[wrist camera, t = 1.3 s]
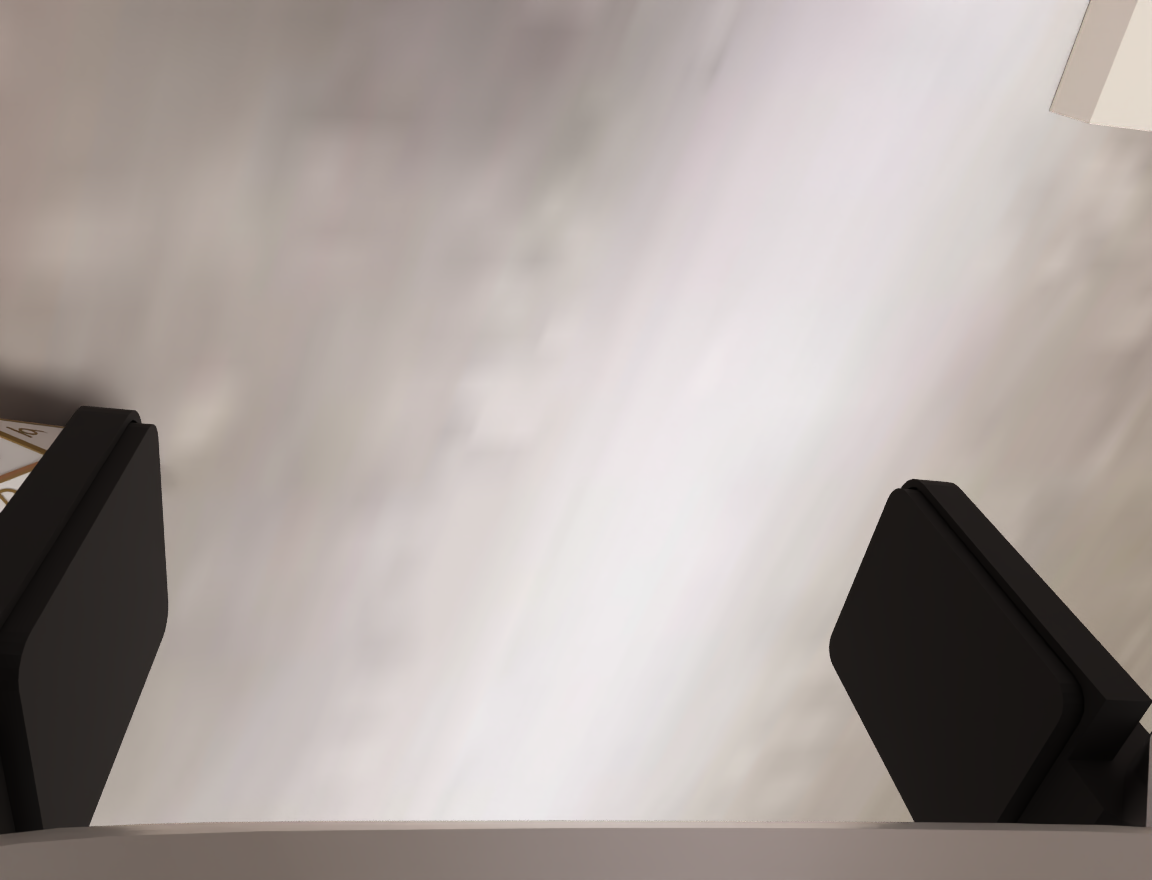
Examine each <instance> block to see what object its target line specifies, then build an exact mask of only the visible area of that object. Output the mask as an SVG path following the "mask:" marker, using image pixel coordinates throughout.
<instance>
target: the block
mask: <svg viewBox="0 0 1152 880" xmlns="http://www.w3.org/2000/svg"><path fill="white" fill-rule="evenodd" d="M1050 111H1051V112H1054V113H1057V114H1060V115H1063V116H1066V117H1070V118H1073V119H1076V120H1079V121H1082V122H1085V123H1089V124H1096V125H1104V126H1112V127H1120V128H1128V129H1136V130H1144V131H1152V0H1091V1H1090V3H1089V6H1088V9H1087V11H1086V14H1085V17H1084V20H1083V22H1082V25H1081V28H1080V30H1079V33H1078V36H1077V38H1076V41H1075V44H1074V46H1073V49H1072V52H1071V54H1070V57H1069V60H1068V63H1067V65H1066V68H1065V71H1064V73H1063V76H1062V79H1061V81H1060V84H1059V87H1058V89H1057V92H1056V95H1055V97H1054V100H1053V103H1052V106H1051V108H1050Z"/></svg>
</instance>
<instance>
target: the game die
mask: <svg viewBox="0 0 1152 880" xmlns="http://www.w3.org/2000/svg"><path fill="white" fill-rule="evenodd" d="M63 428H64V427H62V426H55V425H47V424H40V423H32V422H25V421H17V420H10V419H2V418H0V513H1V511H2V510H3V509H4V507H5V506H6V505H7V503H8V502H9V501H10V499H11V498H12V497H13V495H14V494H15V493H16V491H17V490H18V489H19V487H20V486H21V484H22V483H23V482H24V480H25V479H26V478H27V476H28V475H29V474H30V472H31V471H32V470H33V468H34V467H35V466H36V464H37V463H38V462H39V460H40V459H41V458H42V456H43V455H44V454H45V452H46V451H47V450H48V448H49V447H50V446H51V444H52V443H53V442H54V440H55V439H56V438H57V436H58V435H59V434H60V432H61V431H62V430H63Z"/></svg>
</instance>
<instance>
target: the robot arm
mask: <svg viewBox="0 0 1152 880" xmlns="http://www.w3.org/2000/svg"><path fill="white" fill-rule="evenodd" d="M167 617H168V591H167V575H166V558H165V541H164V524H163V508H162V491H161V474H160V458H159V441H158V431H157V428H156V426H155V425H154V424H142V423H141V419H140V416H139V414H138V412H137V411H136V410H124V409H113V408H102V407H90V406H81V407H80V408H79V409H78V410H77V411H76V412H75V414H74V415H73V416H72V418H71V419H70V420H69V422H68V423H67V424H66V426H65V427H64V428H63V430H62V431H61V432H60V434H59V435H58V436H57V438H56V439H55V440H54V442H53V443H52V444H51V446H50V447H49V448H48V450H47V451H46V452H45V454H44V455H43V456H42V458H41V459H40V460H39V462H38V463H37V464H36V466H35V467H34V468H33V470H32V471H31V472H30V474H29V475H28V476H27V478H26V479H25V480H24V482H23V483H22V484H21V486H20V487H19V489H18V490H17V491H16V493H15V494H14V495H13V497H12V498H11V499H10V501H9V502H8V503H7V505H6V506H5V507H4V509H3V510H2V511H1V513H0V880H1152V732H1151V733H1150V734H1149V733H1148V732H1147V731H1146V729H1145V728H1144V727H1143V726H1142V725H1141V724H1140V723H1139V721H1140V719H1141V718H1142V717H1143V715H1144V714H1145V712H1146V711H1147V709H1148V708H1149V706H1150V705H1151V703H1152V700H1151V699H1150V698H1149V696H1148V695H1147V694H1146V693H1145V692H1144V691H1143V690H1142V689H1141V688H1140V687H1139V685H1138V684H1137V683H1136V682H1135V681H1134V680H1133V679H1132V678H1131V677H1130V675H1129V674H1128V673H1127V672H1126V671H1125V670H1124V669H1123V668H1122V667H1121V666H1120V664H1119V663H1118V662H1117V661H1116V660H1115V659H1114V658H1113V657H1112V656H1111V655H1110V653H1109V652H1108V651H1107V650H1106V649H1105V648H1104V647H1103V646H1102V645H1101V643H1100V642H1099V641H1098V640H1097V639H1096V638H1095V637H1094V636H1093V635H1092V634H1091V632H1090V631H1089V630H1088V629H1087V628H1086V627H1085V626H1084V625H1083V624H1082V623H1081V621H1080V620H1079V619H1078V618H1077V617H1076V616H1075V615H1074V614H1073V613H1072V611H1071V610H1070V609H1069V608H1068V607H1067V606H1066V605H1065V604H1064V603H1063V602H1062V600H1061V599H1060V598H1059V597H1058V596H1057V595H1056V594H1055V593H1054V592H1053V591H1052V589H1051V588H1050V587H1049V586H1048V585H1047V584H1046V583H1045V582H1044V581H1043V579H1042V578H1041V577H1040V576H1039V575H1038V574H1037V573H1036V572H1035V571H1034V570H1033V568H1032V567H1031V566H1030V565H1029V564H1028V563H1027V562H1026V561H1025V560H1024V559H1023V557H1022V556H1021V555H1020V554H1019V553H1018V552H1017V551H1016V550H1015V549H1014V547H1013V546H1012V545H1011V544H1010V543H1009V542H1008V541H1007V540H1006V539H1005V538H1004V536H1003V535H1002V534H1001V533H1000V532H999V531H998V530H997V529H996V528H995V526H994V525H993V524H992V523H991V522H990V521H989V520H988V519H987V518H986V517H985V515H984V514H983V513H982V512H981V511H980V510H979V509H978V508H977V507H976V506H975V504H974V503H973V502H972V501H971V500H970V499H969V498H968V497H967V496H966V494H965V493H964V492H963V491H962V490H961V489H960V488H959V487H958V486H957V485H955V484H954V483H950V482H941V481H929V480H918V479H912V480H909V481H907V482H906V483H905V484H904V485H903V486H902V487H901V488H898V489H895V490H894V491H893V492H892V493H891V494H890V496H889V498H888V500H887V502H886V505H885V507H884V510H883V512H882V514H881V517H880V519H879V522H878V524H877V526H876V529H875V531H874V534H873V536H872V538H871V541H870V543H869V546H868V548H867V550H866V553H865V555H864V558H863V560H862V563H861V565H860V567H859V570H858V572H857V575H856V577H855V579H854V582H853V584H852V587H851V589H850V591H849V594H848V596H847V599H846V601H845V604H844V606H843V608H842V611H841V613H840V616H839V618H838V620H837V623H836V625H835V628H834V630H833V632H832V635H831V638H830V644H829V653H830V658H831V662H832V664H833V666H834V668H835V670H836V672H837V674H838V676H839V678H840V680H841V682H842V684H843V686H844V688H845V689H846V691H847V693H848V695H849V697H850V699H851V701H852V703H853V705H854V707H855V709H856V711H857V712H858V714H859V716H860V718H861V720H862V722H863V724H864V726H865V728H866V730H867V732H868V734H869V736H870V737H871V739H872V741H873V743H874V745H875V747H876V749H877V751H878V753H879V755H880V757H881V759H882V760H883V762H884V764H885V766H886V768H887V770H888V772H889V774H890V776H891V778H892V780H893V782H894V783H895V785H896V787H897V789H898V791H899V793H900V795H901V797H902V799H903V801H904V803H905V805H906V807H907V808H908V810H909V812H910V814H911V816H912V818H913V820H914V822H830V821H566V820H549V821H279V822H203V823H166V824H136V825H114V826H91V827H89V825H90V822H91V820H92V817H93V814H94V812H95V809H96V807H97V804H98V802H99V799H100V797H101V794H102V791H103V789H104V786H105V784H106V781H107V779H108V776H109V774H110V771H111V768H112V766H113V763H114V761H115V758H116V756H117V753H118V751H119V748H120V745H121V743H122V740H123V738H124V735H125V733H126V730H127V728H128V725H129V722H130V720H131V717H132V715H133V712H134V710H135V707H136V705H137V702H138V699H139V697H140V694H141V692H142V689H143V687H144V684H145V682H146V679H147V676H148V674H149V671H150V669H151V666H152V664H153V661H154V659H155V656H156V653H157V651H158V648H159V646H160V643H161V641H162V638H163V635H164V632H165V628H166V623H167Z"/></svg>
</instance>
